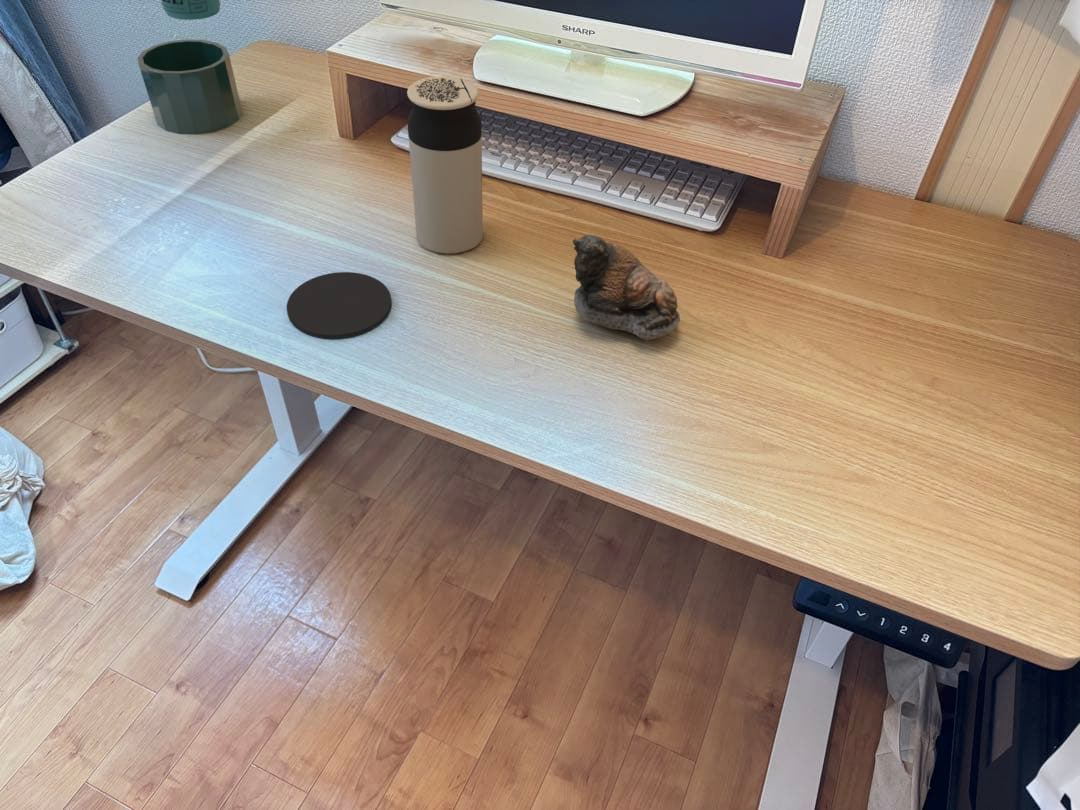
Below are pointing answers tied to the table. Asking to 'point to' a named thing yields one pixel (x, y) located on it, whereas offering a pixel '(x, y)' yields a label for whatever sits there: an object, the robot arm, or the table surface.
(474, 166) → the travel mug
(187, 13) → the beverage bottle
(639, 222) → the table surface
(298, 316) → the coaster
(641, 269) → the bison figurine
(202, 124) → the pot
